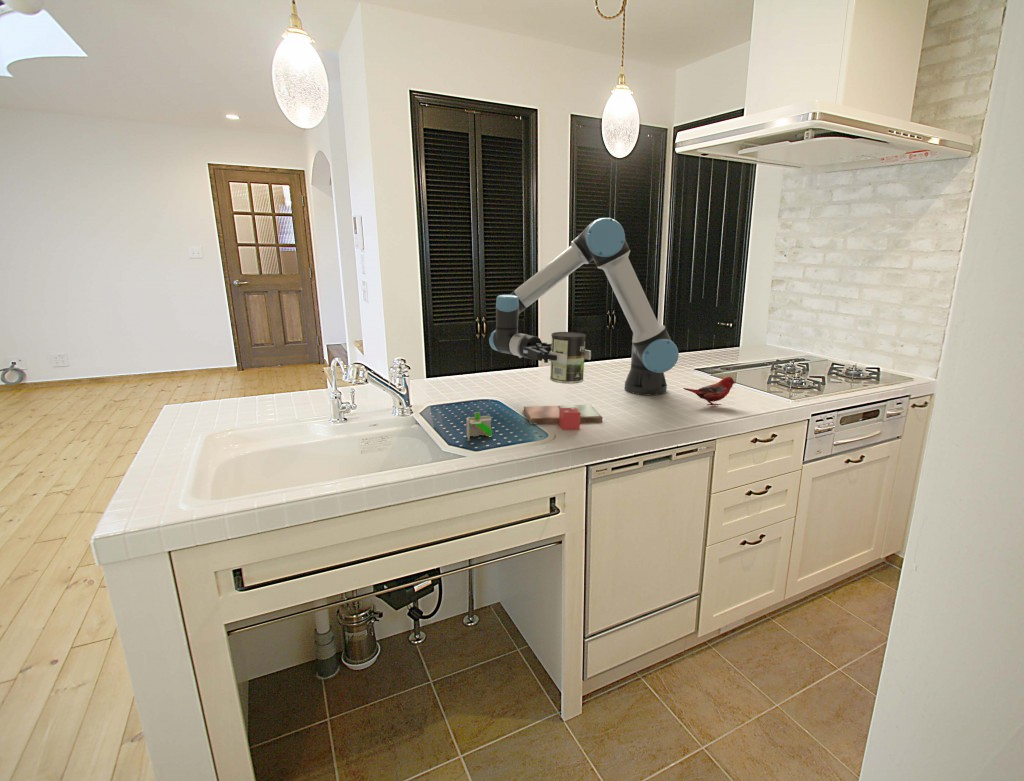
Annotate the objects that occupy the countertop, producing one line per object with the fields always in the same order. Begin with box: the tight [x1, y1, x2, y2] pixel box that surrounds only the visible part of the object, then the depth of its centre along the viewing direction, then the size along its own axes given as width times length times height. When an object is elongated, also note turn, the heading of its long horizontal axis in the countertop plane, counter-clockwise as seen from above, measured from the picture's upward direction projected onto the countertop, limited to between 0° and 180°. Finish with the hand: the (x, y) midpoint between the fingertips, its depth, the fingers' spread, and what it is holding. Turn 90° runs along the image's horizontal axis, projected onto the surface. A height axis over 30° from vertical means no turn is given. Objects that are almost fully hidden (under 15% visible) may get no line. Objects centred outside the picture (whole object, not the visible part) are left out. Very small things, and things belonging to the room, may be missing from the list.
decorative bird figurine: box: [682, 376, 736, 406], centre depth 174 cm, size 3×18×10 cm, turn 93°
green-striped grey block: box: [465, 411, 493, 440], centre depth 143 cm, size 4×7×8 cm, turn 109°
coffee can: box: [549, 331, 587, 385], centre depth 159 cm, size 10×10×14 cm
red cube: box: [558, 408, 581, 431], centre depth 153 cm, size 5×5×5 cm
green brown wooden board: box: [523, 404, 603, 425], centre depth 163 cm, size 22×13×2 cm, turn 98°
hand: (578, 357), depth 156 cm, fingers closed on coffee can, 10 cm apart
